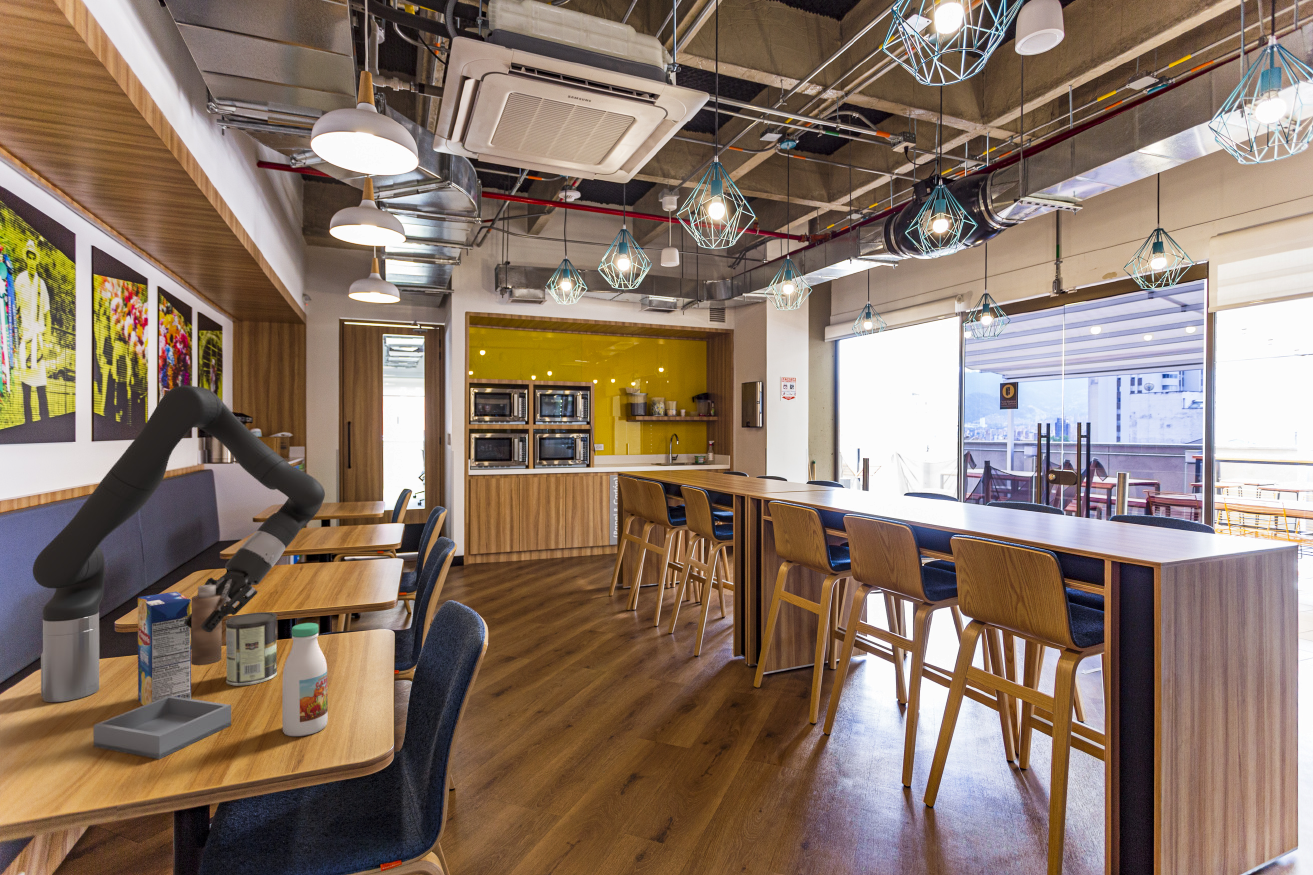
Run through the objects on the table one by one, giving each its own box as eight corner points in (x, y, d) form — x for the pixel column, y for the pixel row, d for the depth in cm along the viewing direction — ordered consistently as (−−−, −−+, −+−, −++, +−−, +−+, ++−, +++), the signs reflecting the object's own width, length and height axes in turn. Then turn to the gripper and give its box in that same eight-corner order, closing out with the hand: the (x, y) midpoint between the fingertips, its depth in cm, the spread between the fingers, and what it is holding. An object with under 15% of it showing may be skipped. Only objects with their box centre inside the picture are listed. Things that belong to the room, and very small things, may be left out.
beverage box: (151, 713, 135) (150, 605, 135) (138, 699, 142) (137, 597, 142) (191, 703, 140) (190, 599, 140) (176, 690, 147) (176, 591, 147)
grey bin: (93, 746, 121) (93, 724, 121) (169, 715, 134) (169, 695, 134) (159, 758, 116) (159, 736, 116) (231, 725, 130) (231, 704, 130)
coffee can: (263, 667, 162) (262, 609, 162) (285, 675, 156) (285, 615, 156) (216, 680, 153) (216, 619, 153) (239, 689, 148) (239, 626, 148)
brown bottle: (185, 663, 131) (185, 588, 131) (208, 655, 136) (208, 582, 136) (204, 666, 130) (205, 590, 130) (227, 658, 134) (228, 584, 134)
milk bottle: (281, 740, 123) (281, 633, 123) (283, 724, 130) (283, 623, 130) (328, 732, 127) (327, 628, 126) (327, 717, 133) (327, 617, 133)
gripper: (223, 543, 142) (160, 613, 132) (266, 549, 136) (204, 623, 125) (247, 564, 147) (189, 632, 136) (290, 570, 141) (232, 643, 130)
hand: (196, 627), depth 131 cm, fingers closed on brown bottle, 5 cm apart
